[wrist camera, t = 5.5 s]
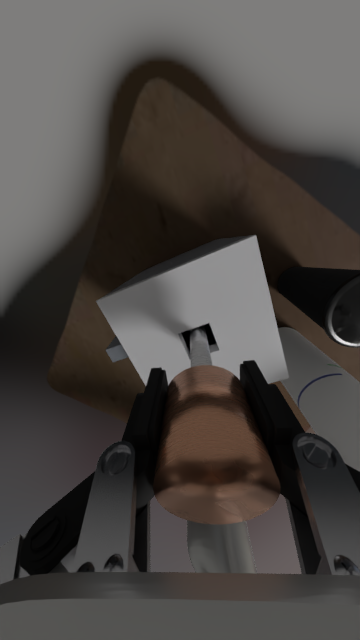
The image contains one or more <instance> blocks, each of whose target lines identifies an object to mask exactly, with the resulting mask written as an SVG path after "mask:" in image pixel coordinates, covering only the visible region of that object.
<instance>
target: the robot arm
mask: <svg viewBox="0 0 360 640" xmlns="http://www.w3.org/2000/svg"><path fill="white" fill-rule="evenodd" d="M240 382H241V383H242V385H243V388H244V390H245V393H246V396H247V398H248V401H249V403H250V406H251V409H252V411H253V414H254V417H255V419H256V422H257V424H258V427H259V430H260V432H261V435H262V438H263V440H264V443H265V445H266V448H267V451H268V453H269V456H270V459H271V461H272V464H273V466H274V469H275V472H276V474H277V477H278V480H279V483H280V494H282V495H283V496H284V497H285V499H286V503H287V508H288V513H289V517H290V522H291V526H292V531H293V536H294V540H295V545H296V549H297V554H298V558H299V563H300V568H301V572H302V574H257V570H256V567H255V562H254V557H253V553H252V548H251V543H250V538H249V534H248V529H247V524H246V521H242V522H238V523H232V524H203V523H197V522H192V521H189V520H187V546H188V552H189V557H190V560H191V563H192V566H193V568H194V570H195V572H196V573H178V572H169V573H168V572H150V500H151V499H152V498H153V497H154V491H153V484H154V477H155V470H156V463H157V456H158V449H159V442H160V435H161V428H162V421H163V414H164V407H165V400H166V393H167V388H168V381H167V375H166V371H165V370H162V368H161V367H160V368H151V371H150V374H149V378H148V381H147V385H146V388H145V391H144V393H138V394H137V396H136V399H135V402H134V405H133V408H132V411H131V414H130V417H129V420H128V423H127V426H126V429H125V432H124V435H123V438H122V441H118V442H116V443H114V444H112V445H110V446H109V447H107V448H106V449H105V450H104V452H103V453H102V454H101V456H100V457H99V460H98V463H97V466H96V470H95V472H94V473H92V474H91V475H90V476H89V477H88V478H86V479H85V480H84V481H83V482H81V483H80V484H79V485H78V486H76V487H75V488H74V489H73V490H72V491H70V492H69V493H68V494H67V495H66V496H64V497H63V498H62V499H61V500H60V501H58V502H57V503H56V504H55V505H53V506H52V507H51V508H50V509H48V510H47V511H46V512H45V513H44V514H43V515H42V516H41V517H39V518H38V520H37V521H36V522H35V523H34V524H33V525H32V527H31V528H30V530H29V531H28V533H27V534H25V535H24V536H21V535H18V536H16V537H15V538H13V539H12V540H11V541H9V542H7V543H6V544H4V545H3V546H1V547H0V640H360V472H359V471H357V470H356V469H354V468H352V467H350V466H349V465H347V464H345V463H344V461H343V459H342V457H341V455H340V454H339V452H338V451H337V449H336V448H335V447H334V446H333V445H332V444H331V443H330V442H329V441H327V440H326V439H324V438H323V437H321V436H318V435H316V434H312V433H305V431H304V430H303V428H302V426H301V425H300V423H299V421H298V420H297V418H296V417H295V415H294V413H293V412H292V410H291V408H290V407H289V405H288V404H287V402H286V400H285V399H284V397H283V395H282V394H281V392H280V391H279V389H278V387H277V386H276V385H275V384H269V385H268V383H267V381H266V379H265V378H264V376H263V374H262V372H261V371H260V369H259V367H258V365H257V363H256V362H255V360H249V361H243V364H240Z"/></svg>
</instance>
